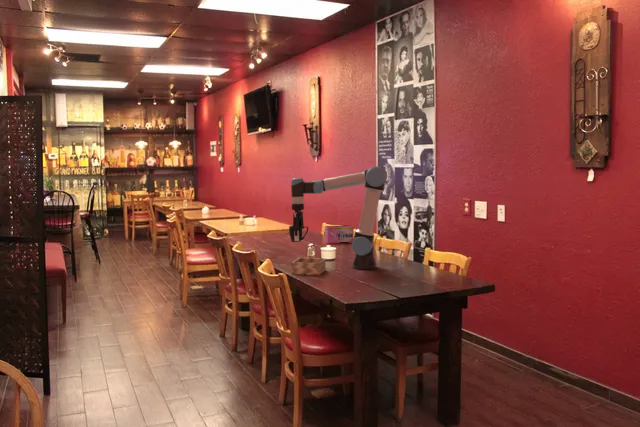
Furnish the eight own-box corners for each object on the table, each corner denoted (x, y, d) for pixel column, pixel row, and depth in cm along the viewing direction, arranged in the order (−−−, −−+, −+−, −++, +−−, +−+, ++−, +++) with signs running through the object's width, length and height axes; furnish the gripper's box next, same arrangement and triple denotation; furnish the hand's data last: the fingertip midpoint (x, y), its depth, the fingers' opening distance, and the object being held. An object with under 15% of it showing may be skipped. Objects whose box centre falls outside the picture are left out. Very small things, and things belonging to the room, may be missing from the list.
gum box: (352, 241, 492) (352, 225, 490) (355, 242, 484) (355, 226, 483) (324, 242, 485) (324, 226, 484) (327, 243, 477) (327, 227, 476)
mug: (309, 241, 363) (309, 226, 362) (290, 242, 361) (289, 227, 360) (307, 239, 371) (307, 224, 370) (288, 240, 369) (288, 225, 368)
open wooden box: (325, 269, 366) (325, 258, 365) (319, 275, 349) (319, 263, 349) (299, 268, 370) (298, 257, 369) (291, 274, 353) (291, 262, 352)
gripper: (296, 202, 374) (297, 237, 376) (286, 204, 354) (287, 242, 356) (308, 202, 372) (309, 237, 374) (298, 204, 352) (299, 242, 354)
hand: (298, 240), depth 365 cm, fingers closed on mug, 8 cm apart
